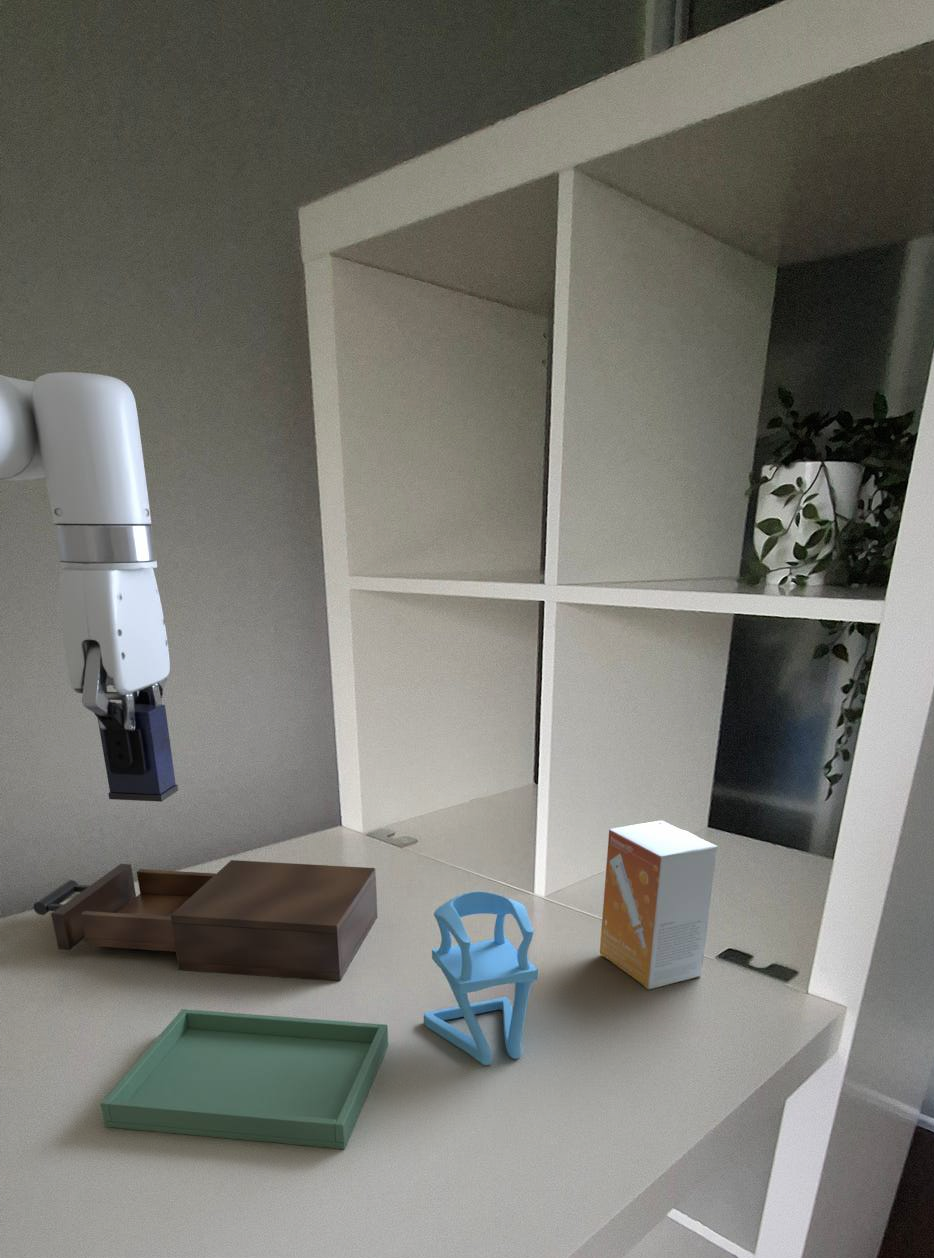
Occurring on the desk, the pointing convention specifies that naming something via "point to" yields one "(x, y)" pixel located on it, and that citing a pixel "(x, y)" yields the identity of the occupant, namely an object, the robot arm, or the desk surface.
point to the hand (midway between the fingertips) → (139, 765)
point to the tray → (251, 1079)
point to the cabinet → (277, 920)
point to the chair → (482, 972)
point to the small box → (657, 902)
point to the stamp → (158, 759)
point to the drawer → (139, 917)
